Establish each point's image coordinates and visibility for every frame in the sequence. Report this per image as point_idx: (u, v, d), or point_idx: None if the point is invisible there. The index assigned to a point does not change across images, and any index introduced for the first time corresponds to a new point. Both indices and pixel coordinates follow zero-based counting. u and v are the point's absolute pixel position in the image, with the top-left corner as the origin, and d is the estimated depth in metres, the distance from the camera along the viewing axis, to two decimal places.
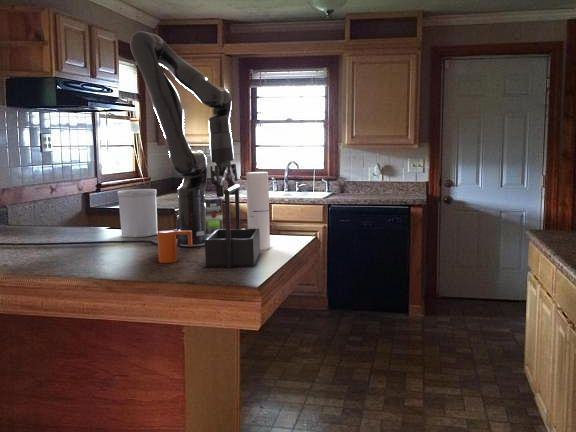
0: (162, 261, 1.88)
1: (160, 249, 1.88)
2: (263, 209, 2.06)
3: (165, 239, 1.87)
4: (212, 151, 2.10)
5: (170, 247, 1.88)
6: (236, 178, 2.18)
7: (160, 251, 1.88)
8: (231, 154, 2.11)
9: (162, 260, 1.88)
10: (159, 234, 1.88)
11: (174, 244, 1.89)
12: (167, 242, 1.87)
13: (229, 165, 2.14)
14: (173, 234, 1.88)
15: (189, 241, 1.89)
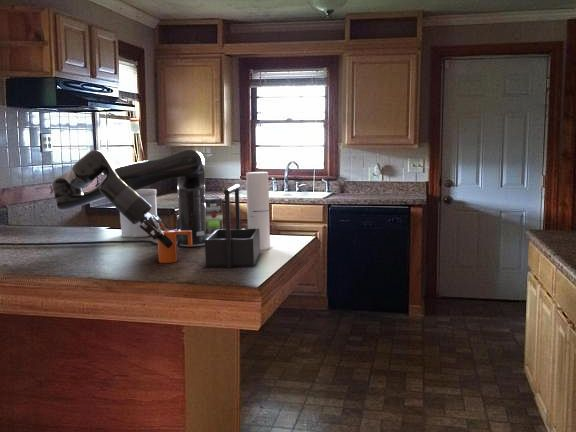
0: (162, 261, 1.88)
1: (160, 249, 1.88)
2: (263, 209, 2.06)
3: None
4: (127, 213, 1.86)
5: (170, 247, 1.88)
6: (166, 226, 1.95)
7: (160, 251, 1.88)
8: (146, 202, 1.89)
9: (162, 260, 1.88)
10: None
11: (174, 244, 1.89)
12: None
13: (151, 215, 1.92)
14: (173, 234, 1.88)
15: (189, 241, 1.89)
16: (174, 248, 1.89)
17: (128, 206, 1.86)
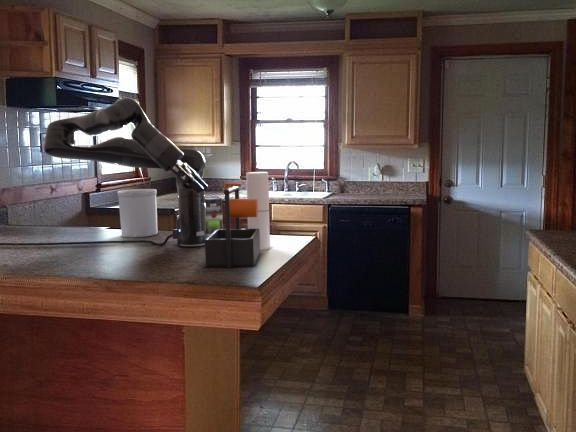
0: (254, 212, 1.86)
1: (242, 214, 1.86)
2: (263, 209, 2.06)
3: (232, 208, 1.86)
4: (159, 159, 1.84)
5: (240, 204, 1.86)
6: (197, 173, 1.94)
7: (244, 214, 1.86)
8: (178, 148, 1.86)
9: (253, 212, 1.86)
10: None
11: (238, 200, 1.87)
12: (235, 206, 1.86)
13: (183, 163, 1.90)
14: None
15: (235, 185, 1.87)
16: (242, 200, 1.87)
17: (161, 152, 1.83)
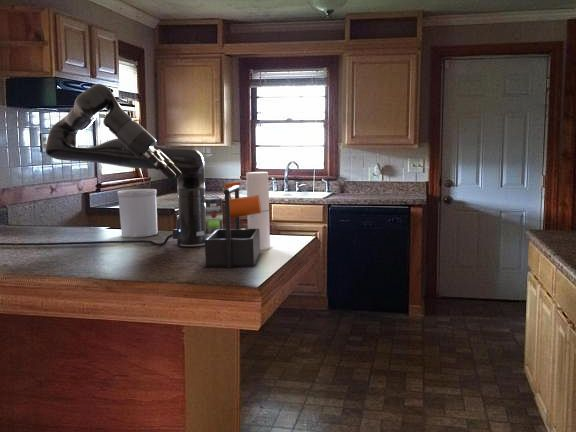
0: (258, 208, 1.85)
1: (246, 212, 1.86)
2: (263, 209, 2.06)
3: (235, 208, 1.86)
4: (131, 145, 1.84)
5: (242, 202, 1.86)
6: (170, 160, 1.94)
7: (248, 211, 1.86)
8: (150, 135, 1.86)
9: (257, 208, 1.86)
10: (231, 214, 1.86)
11: (240, 199, 1.87)
12: (237, 205, 1.85)
13: None
14: (230, 201, 1.87)
15: (235, 184, 1.87)
16: (244, 198, 1.87)
17: (133, 138, 1.83)
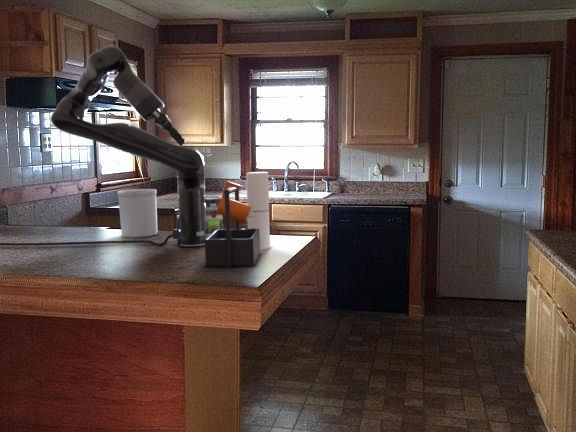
0: (245, 218, 1.86)
1: (233, 216, 1.86)
2: (263, 209, 2.06)
3: None
4: (140, 105, 1.85)
5: (234, 206, 1.86)
6: None
7: (235, 216, 1.86)
8: (159, 99, 1.88)
9: (244, 218, 1.86)
10: (218, 211, 1.86)
11: (233, 201, 1.87)
12: None
13: None
14: (223, 198, 1.87)
15: (236, 186, 1.87)
16: (237, 203, 1.87)
17: (142, 98, 1.85)
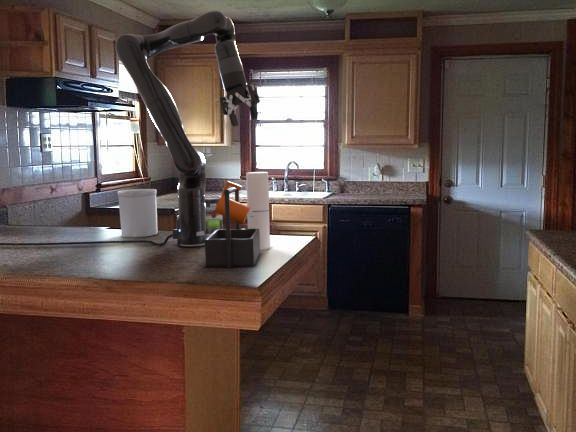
0: (242, 219, 1.86)
1: (231, 216, 1.86)
2: (263, 209, 2.06)
3: (223, 207, 1.86)
4: (236, 73, 2.01)
5: (233, 206, 1.86)
6: None
7: (233, 217, 1.86)
8: None
9: (241, 219, 1.86)
10: (217, 210, 1.86)
11: (232, 201, 1.87)
12: None
13: None
14: (223, 198, 1.87)
15: (236, 186, 1.87)
16: (236, 203, 1.87)
17: (240, 70, 2.02)
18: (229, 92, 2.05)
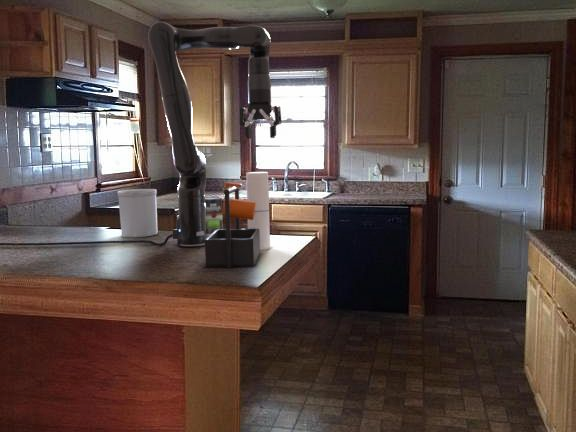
0: (251, 215, 1.86)
1: (239, 215, 1.86)
2: (263, 209, 2.06)
3: None
4: (266, 91, 2.08)
5: (238, 205, 1.86)
6: (244, 122, 2.16)
7: (241, 215, 1.86)
8: None
9: (250, 215, 1.86)
10: (224, 213, 1.86)
11: (237, 200, 1.87)
12: (232, 207, 1.86)
13: None
14: None
15: (236, 185, 1.87)
16: (241, 201, 1.87)
17: (269, 88, 2.10)
18: (252, 106, 2.11)
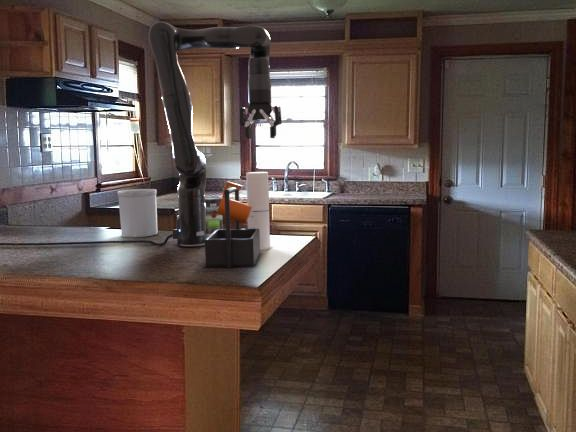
0: (245, 218, 1.86)
1: (233, 216, 1.86)
2: (263, 209, 2.06)
3: None
4: (266, 91, 2.08)
5: (234, 206, 1.86)
6: (245, 122, 2.16)
7: (235, 216, 1.86)
8: None
9: (244, 218, 1.86)
10: (219, 211, 1.86)
11: (234, 201, 1.87)
12: None
13: None
14: (224, 198, 1.87)
15: (236, 186, 1.87)
16: (238, 203, 1.87)
17: (269, 89, 2.10)
18: (252, 106, 2.11)
